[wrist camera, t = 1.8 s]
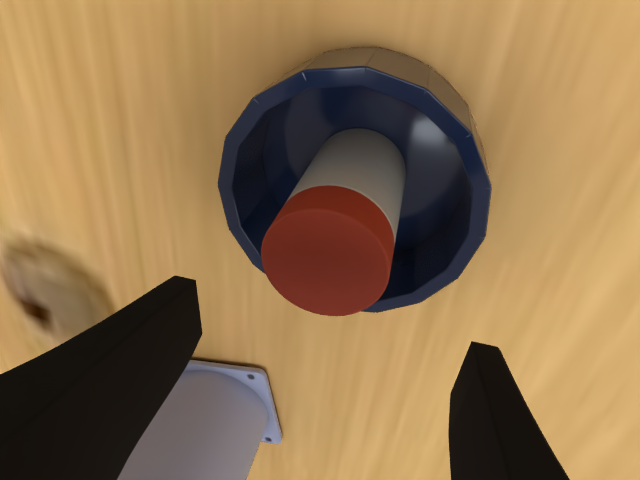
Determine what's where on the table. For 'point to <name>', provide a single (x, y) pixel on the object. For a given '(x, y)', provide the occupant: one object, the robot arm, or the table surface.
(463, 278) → the table surface
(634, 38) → the table surface
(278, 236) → the glue stick
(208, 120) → the table surface
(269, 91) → the dark blue round bowl
